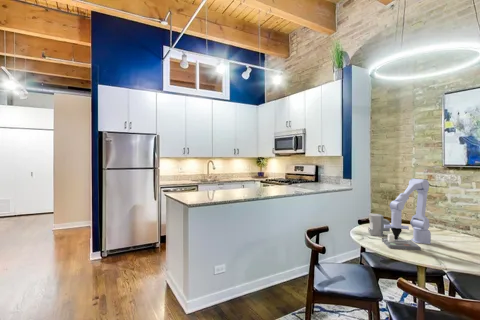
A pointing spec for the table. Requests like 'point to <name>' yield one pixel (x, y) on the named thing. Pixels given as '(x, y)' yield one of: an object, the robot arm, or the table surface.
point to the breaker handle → (391, 237)
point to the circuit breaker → (377, 225)
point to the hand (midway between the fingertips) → (395, 239)
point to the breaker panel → (401, 244)
